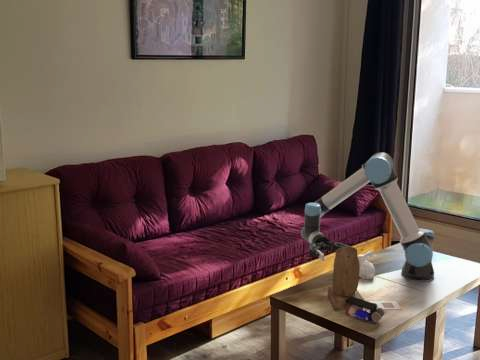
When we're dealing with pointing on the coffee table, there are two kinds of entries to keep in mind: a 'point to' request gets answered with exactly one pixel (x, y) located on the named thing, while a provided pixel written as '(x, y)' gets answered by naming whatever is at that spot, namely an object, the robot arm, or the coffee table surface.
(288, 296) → the coffee table surface
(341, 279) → the block
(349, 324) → the coffee table surface
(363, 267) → the rabbit
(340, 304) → the tower base
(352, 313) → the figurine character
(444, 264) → the coffee table surface
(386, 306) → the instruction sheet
